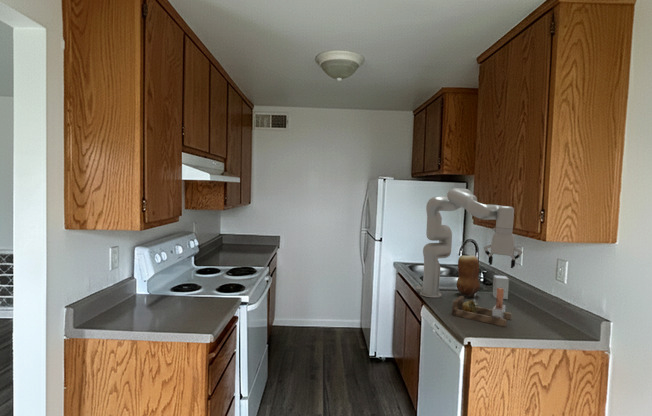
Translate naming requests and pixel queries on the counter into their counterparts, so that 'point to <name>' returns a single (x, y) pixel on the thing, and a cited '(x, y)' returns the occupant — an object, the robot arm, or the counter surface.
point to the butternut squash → (468, 275)
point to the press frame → (479, 317)
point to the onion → (469, 306)
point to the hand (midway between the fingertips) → (501, 266)
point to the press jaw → (499, 305)
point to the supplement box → (500, 285)
